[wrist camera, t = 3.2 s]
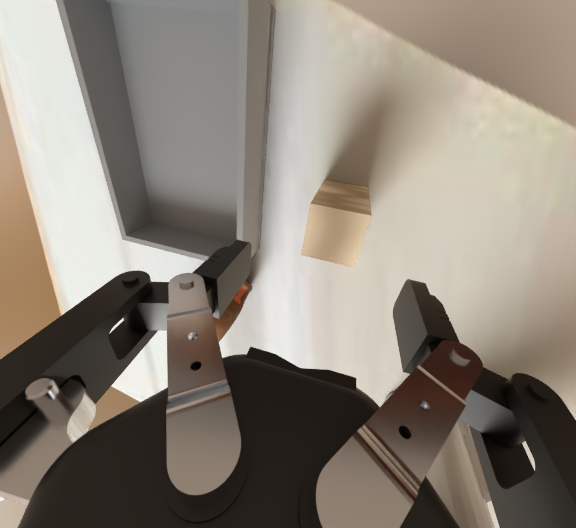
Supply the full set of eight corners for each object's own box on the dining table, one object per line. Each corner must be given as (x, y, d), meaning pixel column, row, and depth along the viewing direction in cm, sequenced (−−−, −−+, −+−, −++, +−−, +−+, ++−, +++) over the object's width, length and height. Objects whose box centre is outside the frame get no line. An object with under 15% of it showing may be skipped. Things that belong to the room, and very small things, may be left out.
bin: (275, 10, 17) (249, -25, 13) (259, 248, 28) (241, 270, 24) (112, -4, 20) (45, -38, 15) (155, 223, 30) (122, 239, 26)
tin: (244, 262, 30) (209, 305, 23) (264, 277, 30) (236, 324, 23) (200, 321, 38) (164, 366, 31) (217, 333, 38) (185, 380, 31)
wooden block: (367, 187, 22) (371, 215, 15) (355, 227, 24) (354, 267, 17) (324, 179, 22) (310, 203, 16) (317, 219, 25) (301, 254, 18)
